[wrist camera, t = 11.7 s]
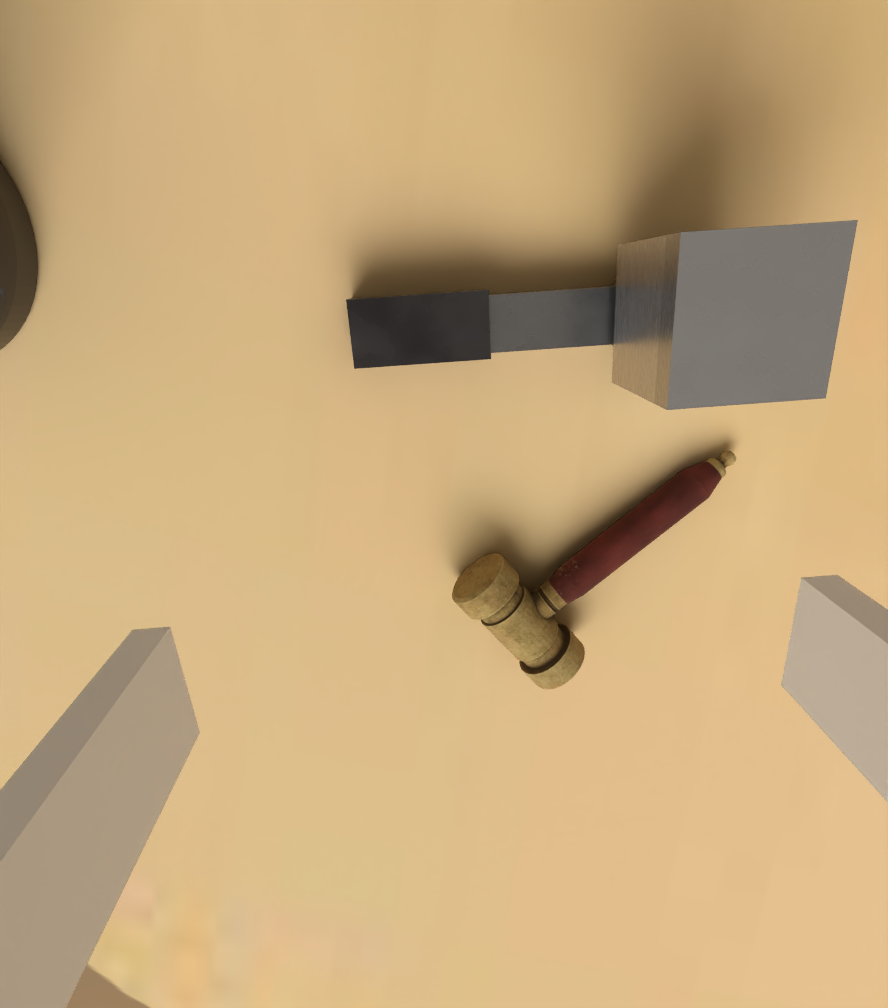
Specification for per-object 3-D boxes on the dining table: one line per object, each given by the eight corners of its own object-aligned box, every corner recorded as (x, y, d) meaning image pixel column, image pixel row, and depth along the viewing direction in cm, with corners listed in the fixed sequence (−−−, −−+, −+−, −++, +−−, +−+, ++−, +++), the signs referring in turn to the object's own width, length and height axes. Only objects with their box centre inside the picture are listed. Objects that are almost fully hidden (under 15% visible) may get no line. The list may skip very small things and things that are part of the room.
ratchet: (362, 388, 36) (347, 414, 29) (348, 269, 34) (328, 265, 26) (709, 363, 37) (783, 383, 29) (721, 244, 34) (807, 233, 27)
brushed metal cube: (612, 382, 34) (666, 409, 26) (617, 244, 31) (680, 232, 24) (736, 373, 34) (825, 398, 27) (752, 235, 31) (857, 220, 24)
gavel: (715, 402, 35) (790, 516, 38) (678, 392, 39) (749, 495, 42) (454, 612, 38) (543, 702, 41) (447, 581, 42) (528, 664, 45)
